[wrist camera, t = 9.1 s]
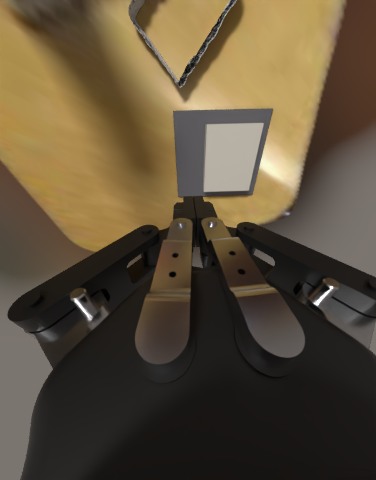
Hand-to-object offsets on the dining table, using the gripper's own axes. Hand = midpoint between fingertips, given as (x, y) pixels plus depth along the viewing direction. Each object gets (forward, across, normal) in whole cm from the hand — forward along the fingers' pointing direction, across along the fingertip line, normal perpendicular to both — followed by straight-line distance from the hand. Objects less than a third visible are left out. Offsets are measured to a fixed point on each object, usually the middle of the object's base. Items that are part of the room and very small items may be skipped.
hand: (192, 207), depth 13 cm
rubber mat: (+25, -7, +1) cm, 26 cm away
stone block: (+23, -4, +1) cm, 24 cm away
